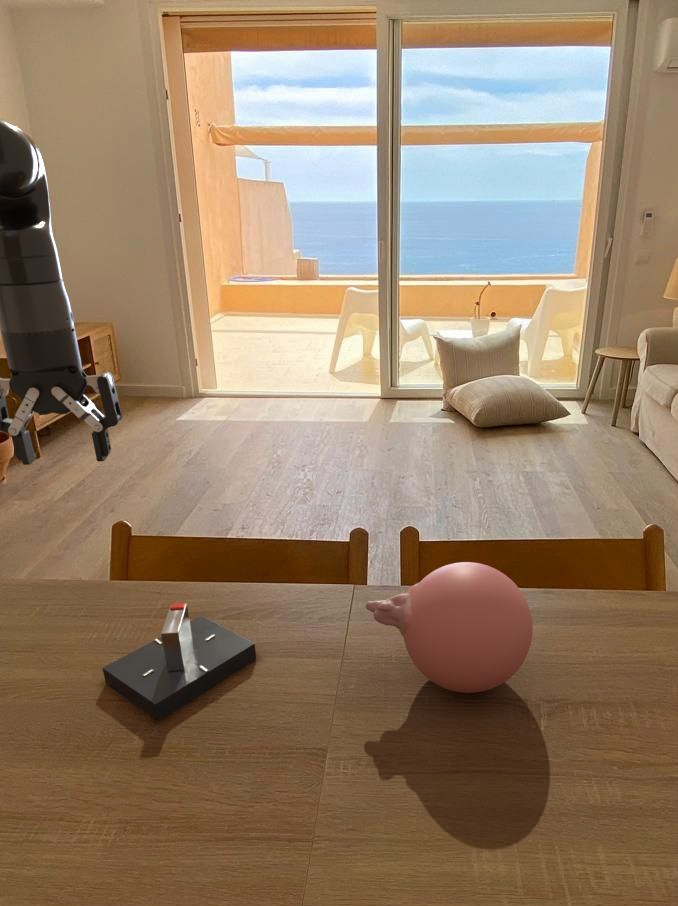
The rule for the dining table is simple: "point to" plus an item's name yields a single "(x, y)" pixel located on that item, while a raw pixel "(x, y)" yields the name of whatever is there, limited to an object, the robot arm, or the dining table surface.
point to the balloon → (462, 626)
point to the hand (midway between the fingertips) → (66, 461)
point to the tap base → (169, 690)
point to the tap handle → (176, 637)
